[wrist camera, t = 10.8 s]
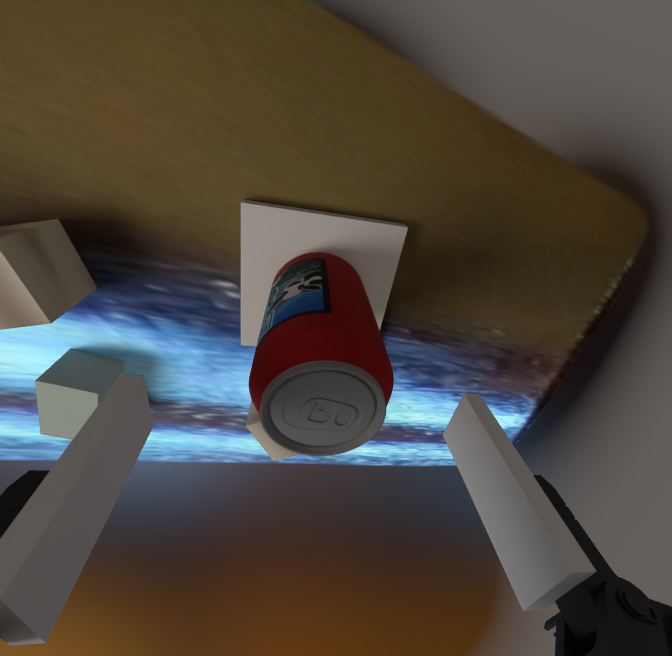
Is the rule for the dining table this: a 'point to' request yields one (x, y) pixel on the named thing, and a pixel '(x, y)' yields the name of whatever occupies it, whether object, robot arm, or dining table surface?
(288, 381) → the beverage can
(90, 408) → the sage block
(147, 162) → the dining table surface
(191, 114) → the dining table surface
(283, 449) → the maple block
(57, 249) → the beech block
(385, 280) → the plate
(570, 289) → the dining table surface
